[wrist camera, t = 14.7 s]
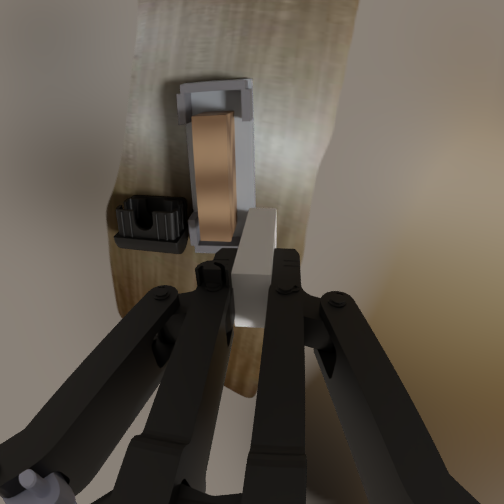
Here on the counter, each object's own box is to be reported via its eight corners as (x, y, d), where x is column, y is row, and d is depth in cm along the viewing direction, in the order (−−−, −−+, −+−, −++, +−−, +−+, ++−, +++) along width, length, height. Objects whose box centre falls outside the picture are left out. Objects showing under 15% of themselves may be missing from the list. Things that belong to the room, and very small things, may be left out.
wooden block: (204, 111, 39) (191, 116, 33) (234, 110, 38) (226, 115, 33) (210, 221, 47) (200, 240, 41) (237, 222, 46) (230, 241, 41)
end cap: (134, 234, 50) (116, 255, 44) (129, 194, 47) (109, 211, 41) (191, 239, 50) (178, 262, 44) (189, 197, 46) (175, 215, 40)
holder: (185, 83, 38) (175, 83, 34) (252, 78, 37) (249, 78, 33) (198, 240, 50) (192, 253, 46) (256, 242, 49) (253, 255, 45)
